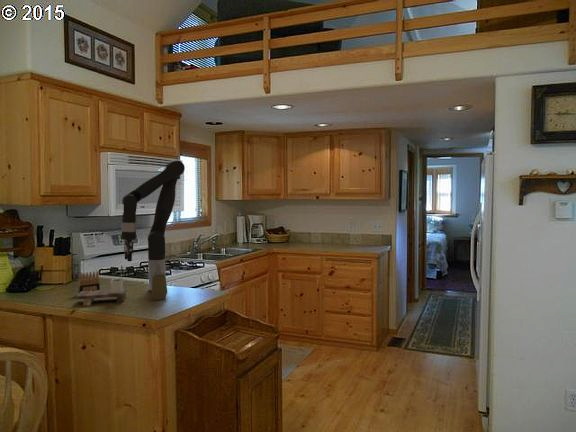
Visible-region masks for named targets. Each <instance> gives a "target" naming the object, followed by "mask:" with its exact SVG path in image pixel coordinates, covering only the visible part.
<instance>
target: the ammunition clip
mask: <svg viewBox="0 0 576 432" xmlns="http://www.w3.org/2000/svg"><path fill="white" fill-rule="evenodd" d="M97 290H101V288H100V276H99V271H98V270H97V271H96V272H95V271H93V272H92V271H90V272H86V274H85V272H82V273H81V272H80V273H79V275H78V294H79V293H80V292H81V291H97Z"/></svg>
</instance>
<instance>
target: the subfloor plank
mask: <svg viewBox="0 0 576 432" xmlns="http://www.w3.org/2000/svg"><path fill="white" fill-rule="evenodd" d="M126 294H127V288H123V291H122V292H121V293H114V294H111V293H110V289H100V290H97V291H83V290H82V291H81V292H80V293H79V292H78V294H77V295H76V297H75V300H76V301H77V300H82V303H83V304H82V306H83V307H88V306H91V305H92V304H93V302H95V300H96V299H107V298H116V303H124V301H125V299H126V296H127V295H126Z"/></svg>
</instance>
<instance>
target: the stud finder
mask: <svg viewBox="0 0 576 432" xmlns="http://www.w3.org/2000/svg"><path fill="white" fill-rule="evenodd" d="M109 283H110V284H109V287H110V289H109V290H110V293H111V294H114V293H121V292H122V291H123V289H124V278H123V277H121V278H120V277H119V278H118V277H117V278H112V279H111V280H110V282H109Z"/></svg>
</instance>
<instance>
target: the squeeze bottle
mask: <svg viewBox="0 0 576 432" xmlns="http://www.w3.org/2000/svg"><path fill="white" fill-rule="evenodd" d="M163 274H164V271H161V267H160V264H158V265H157V270H156V271H155V272H154V275H155V276H153V279H152V290H150V291H151V296H152V298H153V300H154V301H163V300H166V297H167V294H168V286H167V278H166V276H167V275H166V276H165V275H163Z"/></svg>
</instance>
